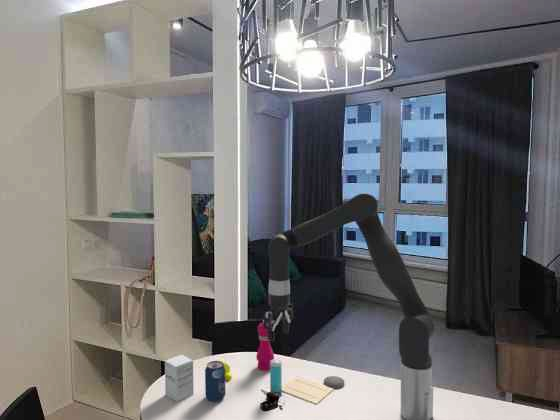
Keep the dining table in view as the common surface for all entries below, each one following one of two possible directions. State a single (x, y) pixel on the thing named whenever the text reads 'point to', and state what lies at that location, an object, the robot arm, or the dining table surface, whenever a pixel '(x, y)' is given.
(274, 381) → the teal cylinder
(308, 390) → the wooden board
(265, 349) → the pepper mill
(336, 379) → the coaster
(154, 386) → the dining table surface
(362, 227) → the robot arm
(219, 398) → the soda can
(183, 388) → the supplement box
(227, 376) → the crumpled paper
